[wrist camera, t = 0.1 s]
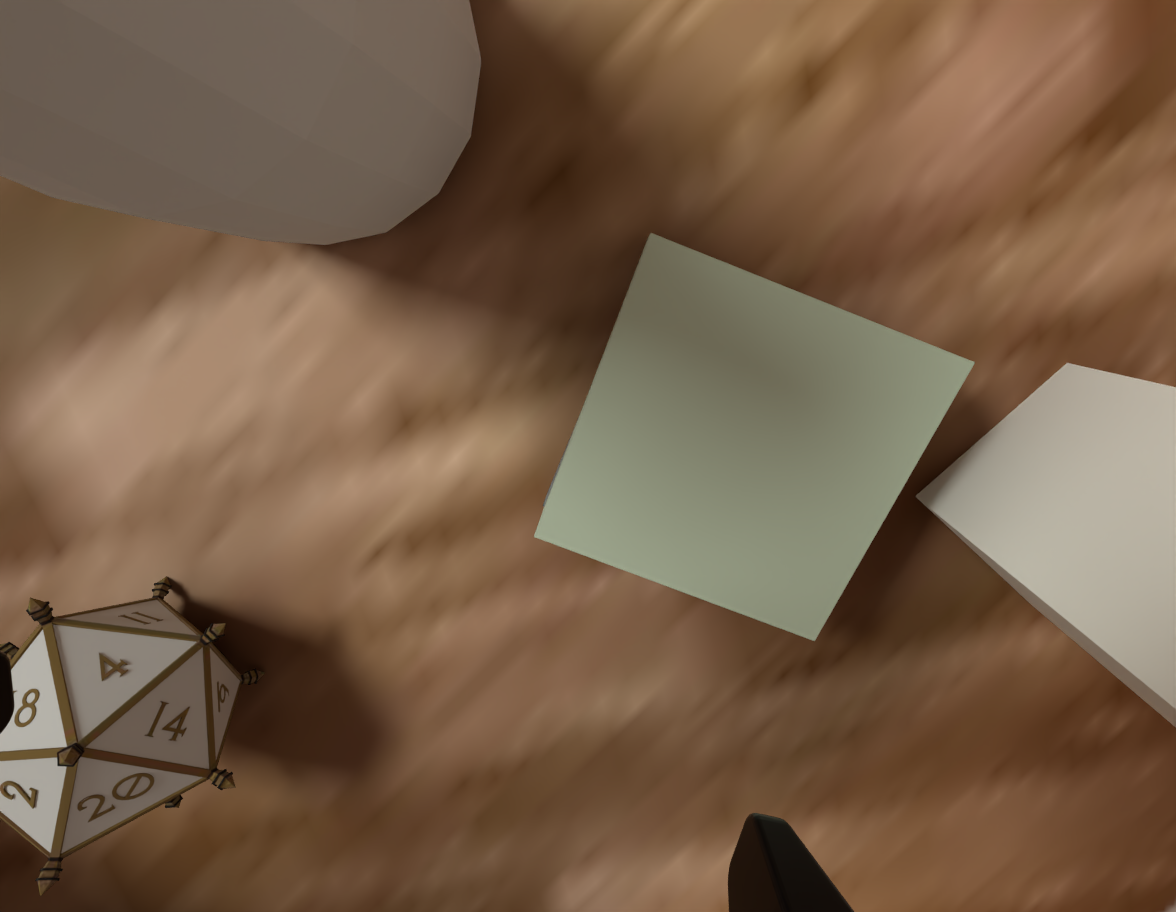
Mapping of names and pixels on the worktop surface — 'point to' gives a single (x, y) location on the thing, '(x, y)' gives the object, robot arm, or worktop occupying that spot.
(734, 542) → the slab upper
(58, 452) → the worktop surface
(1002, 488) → the post
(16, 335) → the worktop surface
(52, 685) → the game die
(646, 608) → the worktop surface
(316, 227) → the soap bottle
